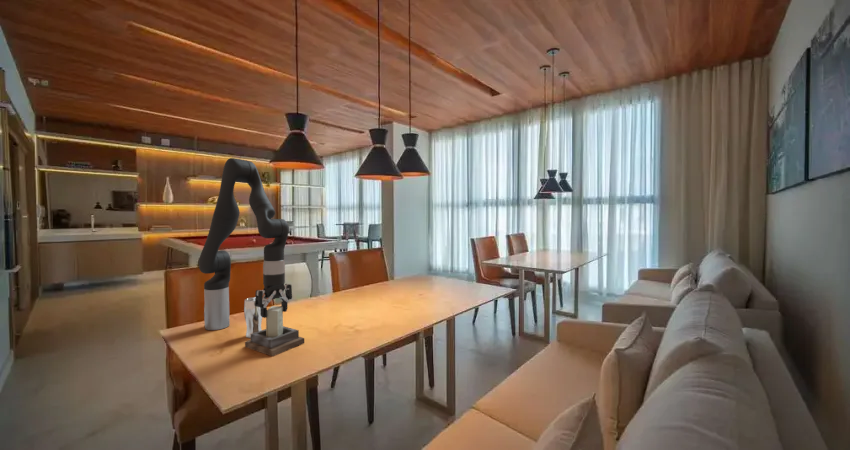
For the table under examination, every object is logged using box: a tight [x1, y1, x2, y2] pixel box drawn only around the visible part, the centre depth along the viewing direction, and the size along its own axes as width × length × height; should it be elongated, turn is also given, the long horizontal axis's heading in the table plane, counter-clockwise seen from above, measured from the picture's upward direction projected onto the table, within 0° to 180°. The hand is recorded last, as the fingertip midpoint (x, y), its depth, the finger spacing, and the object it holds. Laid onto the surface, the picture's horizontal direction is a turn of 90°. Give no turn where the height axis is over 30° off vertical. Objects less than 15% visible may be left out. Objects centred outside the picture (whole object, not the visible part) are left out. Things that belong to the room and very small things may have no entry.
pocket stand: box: [244, 325, 305, 357], centre depth 133 cm, size 16×14×5 cm
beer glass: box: [243, 296, 263, 339], centre depth 142 cm, size 7×7×15 cm
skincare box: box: [265, 305, 284, 338], centre depth 132 cm, size 6×4×12 cm
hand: (274, 314), depth 132 cm, fingers open, 8 cm apart
